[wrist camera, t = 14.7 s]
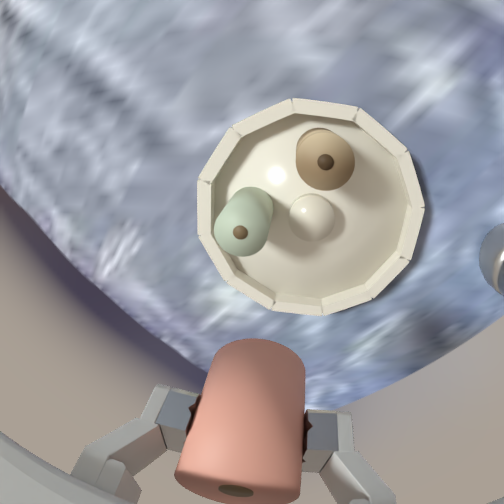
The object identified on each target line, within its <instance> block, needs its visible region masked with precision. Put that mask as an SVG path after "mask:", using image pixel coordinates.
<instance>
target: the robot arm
mask: <svg viewBox="0 0 504 504" xmlns="http://www.w3.org/2000/svg"><path fill="white" fill-rule="evenodd" d="M199 399H200V394H198V393H193V392H189V391H184V390H180V389H177V388H173V387H169V386H165V385H161V384H157V386H156V387H155V388H154V390H153V392H152V394H151V396H150V398H149V401H148V403H147V405H146V407H145V409H144V411H143V413H142V415H141V417H140V419H138V418H135V419H133V420H132V421H130V422H128V423H126V424H124V425H123V426H121V427H119V428H118V429H116V430H114V431H112V432H110V433H109V434H107V435H105V436H103V437H102V438H100V439H98V440H96V441H94V442H92V443H91V444H89V445H87V446H85V448H84V450H83V452H82V453H81V455H80V457H79V459H78V461H77V463H76V465H75V467H74V469H73V470H72V472H71V474H70V475H69V474H67V473H65V472H64V471H62V470H60V469H58V468H56V467H54V466H53V465H51V464H49V463H48V462H46V461H44V460H43V459H41V458H39V457H38V456H36V455H34V454H33V453H31V452H29V451H28V450H27V449H25V448H23V447H22V446H20V445H19V444H18V443H16V442H15V441H13V440H12V439H10V438H9V437H8V436H6V435H5V434H4V433H2V432H1V431H0V504H137V502H138V499H139V497H140V494H141V491H142V490H141V489H140V487H139V485H138V484H137V482H136V481H135V480H134V478H133V476H134V475H136V474H137V473H138V472H140V471H141V470H142V469H144V468H145V467H146V466H148V465H149V464H150V463H152V462H153V461H154V460H155V459H157V458H158V457H159V456H161V455H162V454H163V453H165V452H166V451H167V450H166V449H168V450H172V451H176V452H181V453H182V450H183V447H184V444H185V441H186V438H187V435H188V432H189V429H190V426H191V423H192V420H193V417H194V414H195V411H196V408H197V405H198V402H199ZM354 450H355V449H354V437H353V426H352V415H351V413H350V412H344V411H329V410H310V409H307V410H306V412H305V414H304V435H303V455H302V471H303V472H317V473H319V474H320V476H321V478H322V479H323V481H324V482H325V484H326V486H327V487H328V489H329V491H330V492H331V494H332V496H333V497H334V499H335V500H336V502H337V504H396V496H395V494H394V493H393V492H392V491H391V489H390V488H389V487H388V486H387V485H386V484H385V482H384V481H383V480H382V479H381V478H380V477H379V475H378V474H377V473H376V472H375V471H374V469H373V468H372V467H371V466H370V465H369V464H368V462H367V461H366V460H365V459H364V457H363V456H362V455H361V454H360V452H359V451H354ZM487 504H504V497H502V498H500V499H497V500H495V501H492V502H490V503H487Z"/></svg>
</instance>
